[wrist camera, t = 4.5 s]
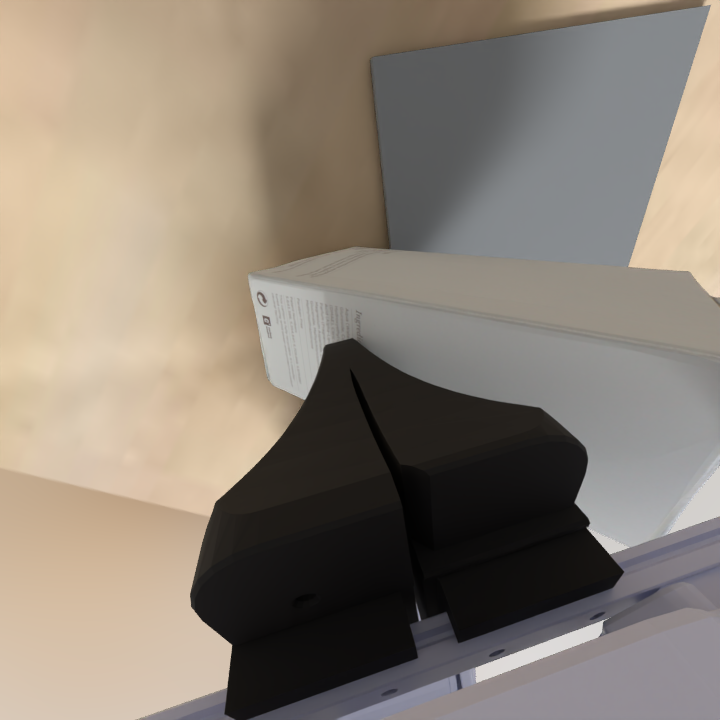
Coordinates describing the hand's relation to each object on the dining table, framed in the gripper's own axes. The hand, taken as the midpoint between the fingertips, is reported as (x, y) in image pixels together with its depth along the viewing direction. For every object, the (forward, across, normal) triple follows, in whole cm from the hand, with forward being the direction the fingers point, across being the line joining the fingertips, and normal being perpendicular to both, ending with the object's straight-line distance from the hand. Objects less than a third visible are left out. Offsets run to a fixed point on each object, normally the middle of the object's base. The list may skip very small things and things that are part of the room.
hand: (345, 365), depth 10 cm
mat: (+10, -14, 0) cm, 17 cm away
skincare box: (+7, 0, 0) cm, 7 cm away
